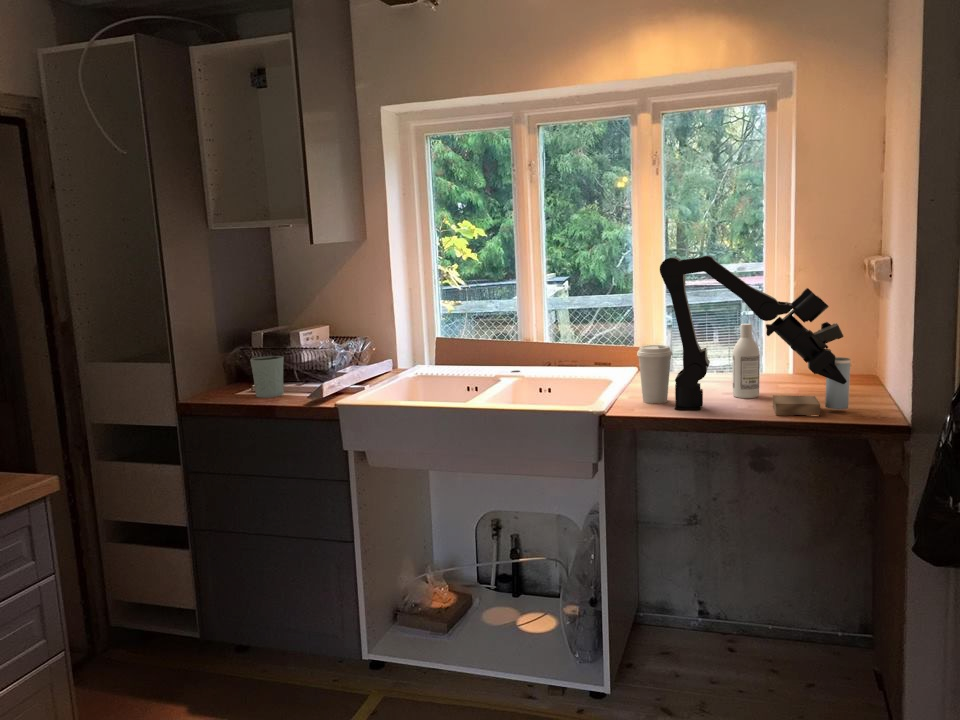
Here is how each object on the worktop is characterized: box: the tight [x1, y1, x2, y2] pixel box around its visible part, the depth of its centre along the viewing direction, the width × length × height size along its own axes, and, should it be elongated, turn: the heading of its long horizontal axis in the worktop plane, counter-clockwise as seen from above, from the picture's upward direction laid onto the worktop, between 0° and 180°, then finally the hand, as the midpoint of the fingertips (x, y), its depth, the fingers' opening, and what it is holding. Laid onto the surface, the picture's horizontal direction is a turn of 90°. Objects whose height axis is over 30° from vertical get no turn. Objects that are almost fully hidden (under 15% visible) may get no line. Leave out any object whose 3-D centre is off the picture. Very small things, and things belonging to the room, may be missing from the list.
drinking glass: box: [249, 355, 285, 399], centre depth 245 cm, size 10×10×12 cm
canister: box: [824, 356, 852, 410], centre depth 189 cm, size 5×5×12 cm
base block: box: [772, 394, 821, 417], centre depth 192 cm, size 10×10×3 cm
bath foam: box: [732, 323, 761, 399], centre depth 211 cm, size 7×7×20 cm
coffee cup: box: [636, 344, 673, 404], centre depth 210 cm, size 10×10×15 cm
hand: (843, 380), depth 188 cm, fingers closed on canister, 5 cm apart
